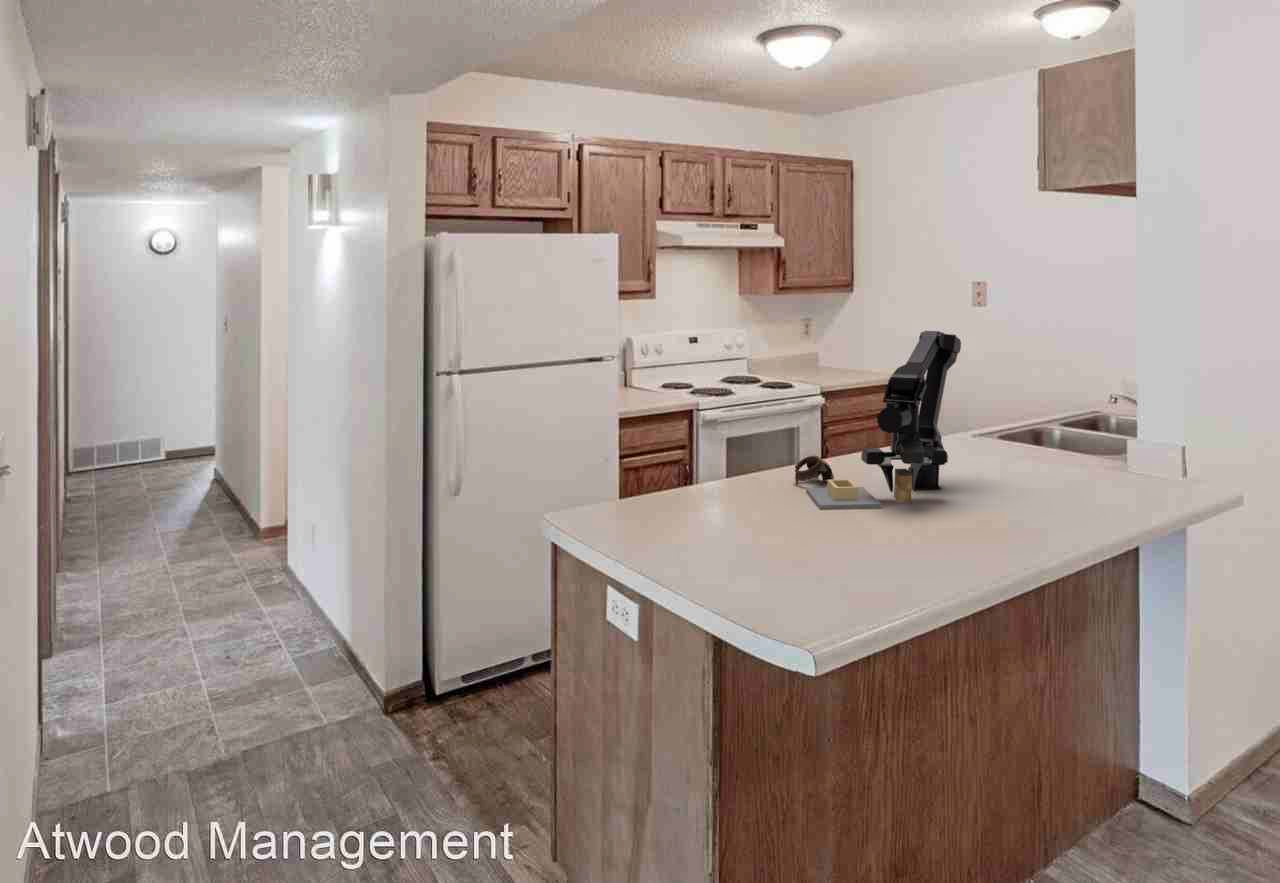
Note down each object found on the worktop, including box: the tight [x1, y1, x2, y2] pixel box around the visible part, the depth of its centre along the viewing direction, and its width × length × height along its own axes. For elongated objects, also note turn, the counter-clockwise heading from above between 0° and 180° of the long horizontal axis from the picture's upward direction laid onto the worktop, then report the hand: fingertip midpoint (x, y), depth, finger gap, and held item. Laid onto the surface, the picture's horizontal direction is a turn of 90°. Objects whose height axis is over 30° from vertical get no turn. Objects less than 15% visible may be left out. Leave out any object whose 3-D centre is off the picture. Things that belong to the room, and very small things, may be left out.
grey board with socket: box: [805, 478, 882, 510], centre depth 205 cm, size 14×16×4 cm
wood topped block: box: [893, 468, 913, 503], centre depth 204 cm, size 2×5×7 cm, turn 0°
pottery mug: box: [794, 455, 835, 484], centre depth 222 cm, size 12×10×8 cm
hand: (902, 491), depth 204 cm, fingers open, 5 cm apart
